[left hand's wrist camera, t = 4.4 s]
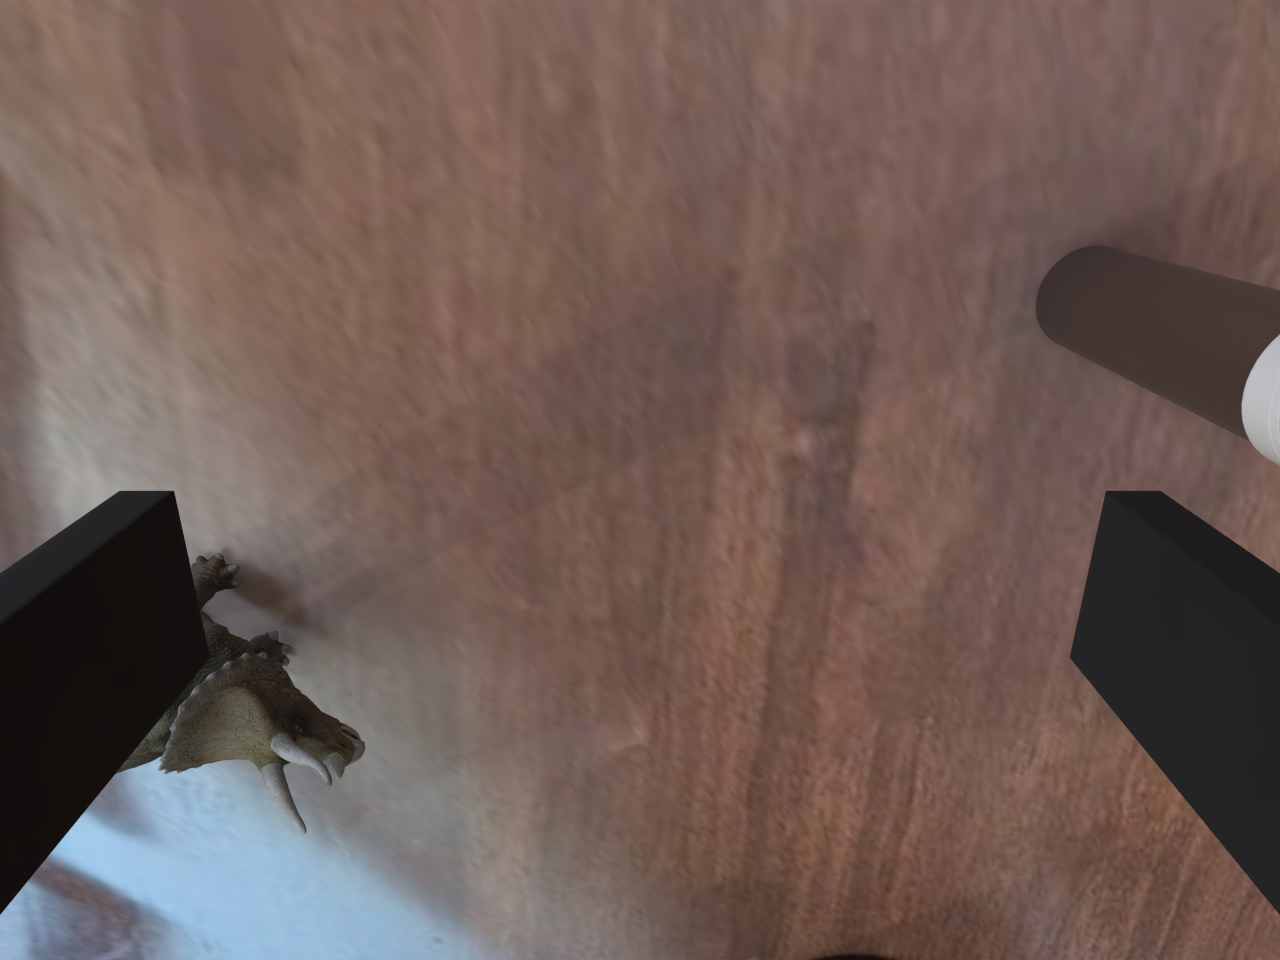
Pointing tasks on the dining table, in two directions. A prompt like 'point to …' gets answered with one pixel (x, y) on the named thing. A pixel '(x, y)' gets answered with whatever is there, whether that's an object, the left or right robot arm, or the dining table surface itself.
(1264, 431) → the lid
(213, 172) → the dining table surface
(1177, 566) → the left robot arm
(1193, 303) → the jar
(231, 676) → the toy dinosaur
